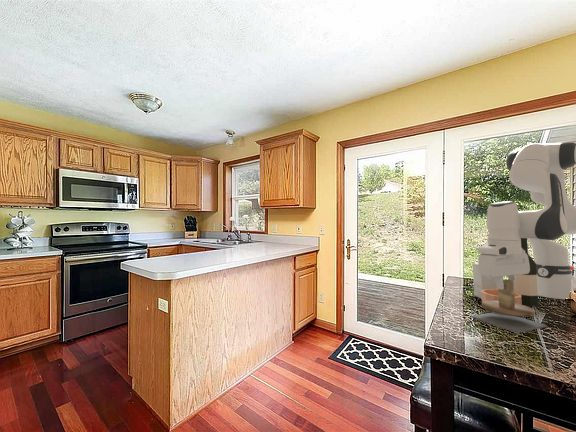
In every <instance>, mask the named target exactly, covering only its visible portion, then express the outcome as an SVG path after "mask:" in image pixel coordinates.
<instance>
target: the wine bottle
mask: <svg viewBox="0 0 576 432" xmlns="http://www.w3.org/2000/svg"><path fill="white" fill-rule="evenodd" d="M521 248H523V249H524V250H525V253H526V254H527V255H528V259H529V265H530V272H529V273H528V274H521V275H517V279H516V281H515V288H514V292H515V293H518V294H520V295H521V299H522V305H524V306H528V307H539V296H538V289H537V270H536V263H535V262H534V258H532V256H531V255H530V254H529V250H528V249H529V246H528V240H527V238H521Z"/></svg>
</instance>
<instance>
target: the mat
mask: <svg viewBox="0 0 576 432" xmlns="http://www.w3.org/2000/svg"><path fill="white" fill-rule="evenodd" d="M471 318H473V319H476V320H477V321H478V320H479V321H482V322H484V323H487V324H490V325H493V326H495V327H498V328H501V329H504V330H506V331H510V332H513V333H516V334H520V333H525V332H529V331H534V330H539V329H543V328H547V326H548V325H547V324H544V323H541V322H538V321H535V320H530V319H526V318H523V317H522V316H511V315H505V314H500V313H496V312H492V311H490V312H486V313H480V314H475V315H471Z"/></svg>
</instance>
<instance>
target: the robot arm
mask: <svg viewBox="0 0 576 432" xmlns="http://www.w3.org/2000/svg"><path fill="white" fill-rule="evenodd" d="M505 163H506V164H505V166H506V169H507V170H508V171H509V181H510V182H511V184H513V185H514V186H515V187H516V188H518V189H520V190H523V191H528V192H529V193H530V199H531V201H532V202H534V203H535V204H537V205H541V206H544V207H543V208H541V209H539V210H538V209H537V210H523V211H521V210H519V208H518V204H517V202H515V201H512V200H510V201H508V200H505V201H499V202H498V201H496V202H493V203H492V202H491V204H489V205H488V207H487V213H486V229H487V232H488V236H487V242H485V243H484V244H483V245H480V246H478V247H477V254H479V255H478V259H477V263H478V267H479V273H480V275H481V276H484V277H489V278H493V277H494V280H495V281H496V283H497V288H498V289H501V290H503V289H506V284H504V283H503V279H504V277H507V279H508V280H513V281H514V288H515V281H516V279H517V275H521V274H528V273H529V272H530V265H529V259H528V255H527V254H526V253H525V250H524V249H523V248H521V238H527V242H528V243H529V244H530V246H531V248H532V254H533V260H534V262H535V263H536V270H537V289H538V297H544V298H548V299H555V300H565V299H566V298H568V297H569V294H570V291H572V290H576V277H575V276H574V275H573V272H572V271H574V270H575V266H574V265H569V264H570V263H569V250H568V248H567V247H566V246H565V245H564V244H561V243H559V242H556V241H555V240H558V239H560V238H562V237H563V236H564V235H576V206H575V205H573V204H572V203H571V201H570V200H569V199H568V196H567V191H566V189H567V188H566V176H565V175H566V174H565V170H568V169H569V168H572V167H574V166H575V165H576V143H575V142H574V141H562V142H555V143H537V142H536V143H535V142H533V143H530V144H527V145H524V146H523V147H521V148H517V149H513V150H512V151H510V152H509V153H508V154H507V157H506V160H505Z"/></svg>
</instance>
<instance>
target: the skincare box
mask: <svg viewBox="0 0 576 432" xmlns="http://www.w3.org/2000/svg"><path fill="white" fill-rule="evenodd" d="M472 276H473V277H472V278H473V279H472V280H473V296H474V297H477V298H479V299H481V300H482V295H481V291H482V290H485V289H496V290H498V288H497V283H496V281H495V280H494V277H493V278H489V277H484V276H481V275H480V273H479V267H478V262H472Z"/></svg>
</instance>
